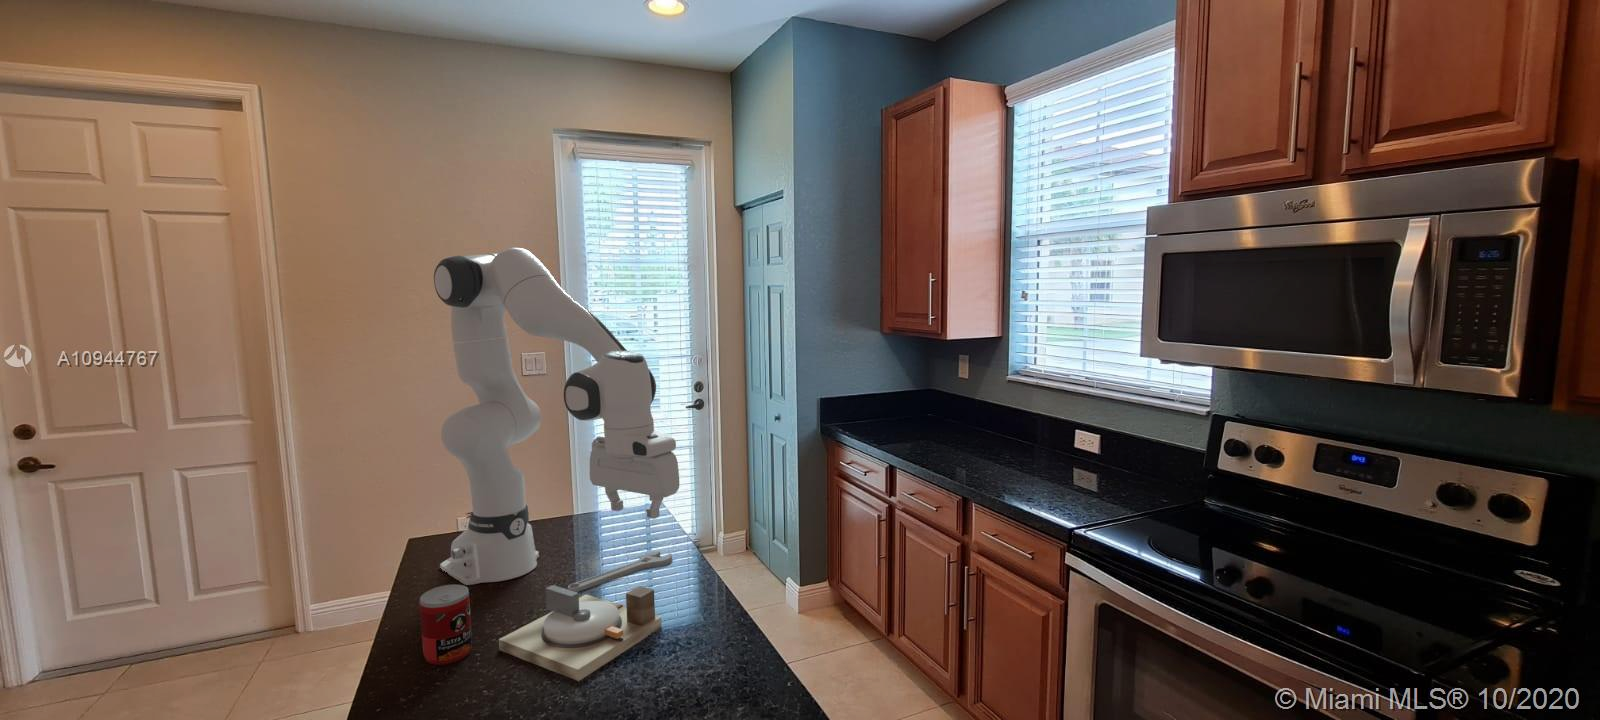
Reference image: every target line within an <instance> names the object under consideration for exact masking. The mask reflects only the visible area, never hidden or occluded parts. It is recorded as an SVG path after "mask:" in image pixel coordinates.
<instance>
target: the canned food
mask: <svg viewBox="0 0 1600 720" xmlns="http://www.w3.org/2000/svg"><path fill="white" fill-rule="evenodd" d="M470 599H471V598H470V592H469V588H468V587H467V585H466V586H465V585H464V584H463V585H462V584H445V585H440V586H438V587H434V588H432V589H429V590H428V591H425V592H424V593H422V594H421V596H420V597H419V614H420V615H419V616H420V624H421V625H420V627H421V640H422V652H423V657H424V659H425V661H426V663H428V664H432V665H448V664H451V663H454V662H457V661H460V660H461V659H463V658H465V657H467V655H468V654H470V653H471V650H472V647H473V635H472V633H473V632H472V618H471V617H472V616H471V603H470V602H471V600H470Z"/></svg>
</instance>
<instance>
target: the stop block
mask: <svg viewBox="0 0 1600 720" xmlns="http://www.w3.org/2000/svg"><path fill="white" fill-rule="evenodd" d="M625 603H626V604H625V606H626V607H627V622H630V623H633V624H636V625H639V626H643V625H644V624H646V623H648V622H649V621H651V620H652V619H654V618H655V615H656V608H655V604H656V603H655V589H652V588H649V587H647V586H642V585H638V586H637V587H635V588H633V589H631V590H629V591H628V592H626V593H625Z"/></svg>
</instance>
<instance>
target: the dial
mask: <svg viewBox="0 0 1600 720" xmlns="http://www.w3.org/2000/svg"><path fill="white" fill-rule="evenodd" d="M579 598H580V595H579V592H574V591H571V590H568V588H564V587H561V586H557V585H553V584H552V585H549V586H547V587H546V588H545V607H546V610H550V611H551V612H552V613H551V612H550V613H551V614H550V615H548V616H547V618H546V619H545V621H544V634H545V637H546V638H547V639H548V640H550V641H552V642H555V643H559V644H581V643H587V642H591V641H594V640H597V639H600V638H602V637H604V636H606V635H608V636H611V637H614V638H617V639H618V638H620V637H621V636H623V629H619V628H616V627H617V626H618V624H619V611H618V608H617V607H616V606H614V605H613V604H610V603H607V602H602V601H584V602H579ZM553 611H554V612H553Z"/></svg>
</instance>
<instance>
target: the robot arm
mask: <svg viewBox="0 0 1600 720" xmlns="http://www.w3.org/2000/svg"><path fill="white" fill-rule="evenodd" d="M433 284H434V289H435V292H436V294H437V297H438V298H439V299H440V300H441V301H442V302H443V303H444V304H445V305H447V306H450V308H451V311H450V328H451V338H452V339H451V340H452V343H453V344H452V345H453V351H454V356H455V363H456V364H455V365H456V368H457V375H458V377H459V379H460V380H461V382H463V383H464V384H466V385H468V386H469V387H470V388H471V389H472V390H473V392H474V393H475V395H476V397H477V400H478V402H479V404H478V403H477V404H474V405H470V406H467V407H464V408H462V409H461V410H459V411H457V412H454V413H453V414H451V415H450V416H448V417H446V419H445V421H444V422H443V424H442V427H441V430H440V431H441V432H440V437H441V441H442V444H443V446H444V448H445V449H446V451H447V452H448V453H450V454H451V455H452V456H454V457H455V458H456V459H458V460H459V461H460V462H461V464H462V465H463V468H464V469H465V471H466V473H467V476H468V481H469V484H470V485H469V486H470V493H471V495H470V497H471V506H472V511H471V512H466V513H465V515H468V516H466V519H468V520H469V521H468V526H467V528H466V529H465V530H464V531H463V532H462V533H461V534H460V535H458V536H457V537H456V538H455V539H454V540H453V541H452V543H451V546H450V557H449V558H447V559H446V560H444V561H442V562H441V563H440V564H439V569H440V568H441V569H442V570H441V569H440V570H441V571H442V572H444V571H445V573H446V572H447V573H448V574H447V573H446V574H447V575H448V576H451V577H452V578H453V579H455V580H457V581H458V580H459V582H460V583H462V584H463V585H464V586H465V585H466V586H470V585H476V584H480V583H481V584H482V583H494V582H495V583H497V582H501V581H502V582H504V581H508V580H513V579H515V578H516V579H517V578H519V577H522V576H524V575H526V574H528V573H530V572H532V571H533V570H534V569H535V568H536V567H537V566H538V562H537V559H538V558H539V557H540V552H539V551H538V550H536V545H535V539H534V534H533V528H532V527H533V526H532V525H531V524H530V523H529V521H530V519H529V518H530V517H529V516H530V511H529V506H528V504H526V502H527V501H526V486H525V475H524V473H523V471H522V469H520V468H518V467H517V466H515V465H514V464H513V462H512V460H511V457H510V454H509V447H511V446H513V445H516V444H519V443H522V442H524V441H526V440H527V439H529V438H530V437H532V436H533V435H534V434H536V432H538V430H539V429H540V426H541V424H542V412H541V409H540V407H539V406H538V404H537V402H535V401H534V400H532V399H531V398H530V397H529V396H527V394H526V393H525V391H524V390H523V388H522V386H521V384H520V382H519V380H518V378H517V375H516V373H515V370H514V366H513V360H512V356H511V355H512V354H511V349H510V345H509V344H510V343H509V339H508V338H509V337H508V333H507V326H506V322H505V317H504V316H505V310H506V311H507V313H508V314H509V316H510V317H511V319H512V320H513V322H514V323H515V324H516V325H517V326H518V327H519V328H521V330H523V331H524V332H525V333H527V334H529V335H533V336H536V337H540V338H547V339H555V340H559V341H560V340H561V341H565V342H568V343H572V344H575V345H578V346H580V347H581V348H583V349H584V350H586V351H587V352H588V353H589V355H590V356H592V358H593V359H594V360H595V361H596V363H594V364H593V365H591V366H588V367H587V368H585V369H581V370H578V371H577V372H573V373H572V374H571V375H570V376H569V377H568V379H567V380H566V382H565V384H564V389H563V399H564V400H563V402H564V404H565V405H564V406H565V407H566V409H567V411H568V412H569V414H570V415H571V416H573V417H574V418H575V419H578V420H579V421H588V422H590V421H597V420H600V419H602V420H603V433H604V434H603V435H604V436H596V438H595V439H594V440H593V441H592V443H591V451H590V454H589V455H590V456H589V480H590V482H591V484H592V486H596V487H602V488H604V491H605V494H606V497H607V498H608V501H609V502H610V510H611V511H614V512H620V511H622V510H624V500H623V499H621V498H620V495H619V493H618V492H619V491H625V492H629V493H634V494H636V493H637V494H641V495H647V496H649V501H650V502H651V504H650V506H649V507H647V508H646V509H645V511H646V518H648V519H652V520H655V519H657V518H659V517H660V507H661V505H662V503H663V500H664V498H668V497H671V496H673V495H675V494H677V493H678V491H679V489H680V472H679V463H678V458H677V456H676V454H675V453H674V452H673V451H675V450H676V448H677V443H676V442H677V441H676V440H675V438H673V437H671V436H669V435H668V434H665V432H662V431H661V430H660V429H658V428H657V427H655V424H654V422H655V421H654V417H653V415H652V411H651V408H652V407H651V405H652V403H653V402H654V399H655V396H656V393H657V383H656V379H655V377H654V375H653V373H652V372H651V370H650V369H649V365H648V363H647V360H646V358H645V357H644V356H643V355H642V354H640V353H639V352H636V351H631V350H630V351H629V350H627V349H626V348H625V346H623V345H622V343H621V342H620V341H619V340H618V339H617V337H616V336H615V335H614V334H613V333H612V332H611V330H609V329H608V327H607V326H606V325H605V324H604V323H603V322H602V321H601V320H600V319H599V318H598V316H596V315H595V314H594V313H593V312H591V311H590V310H588V309H587V308H585V307H584V306H583V305H581V304H580V303H578V302H577V300H574V298H572V296H570V295H569V294H568V293H567V292H566V291H565V290H564V289H563V288H562V287H561V286H560V285H559V283H558V281H556V279H555V277H554V276H553V275H552V273H551V272H550V271H549V270H548V268H547V267H546V266H545V265H544V264H543V263H542V262H541V261H540V260H539V258H537V256H535V255H534V254H533V253H532V252H531V251H529V250H528V249H526V248H522V247H509V248H506V249H503V250H501V251H499V252H497V253H496V252H495V253H491V252H490V253H486V254H485V253H484V254H474V255H473V254H471V255H465V256H463V255H455V256H454V255H453V256H450V257H446V258H444V259H442V260H440V261H439V262H438V264H437V265H436V267H435V269H434V275H433Z"/></svg>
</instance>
